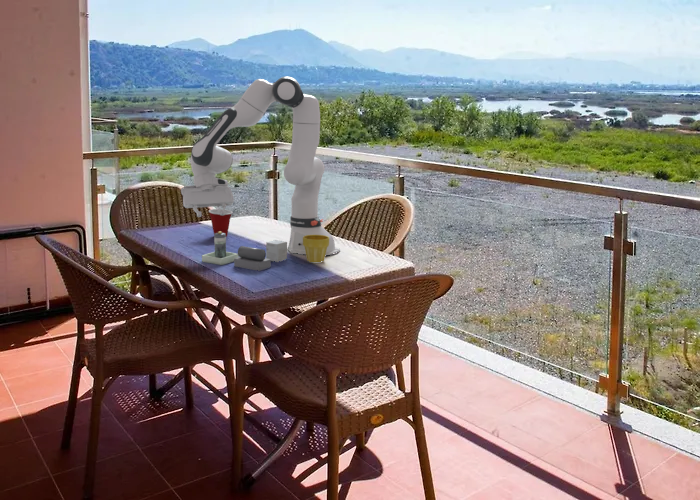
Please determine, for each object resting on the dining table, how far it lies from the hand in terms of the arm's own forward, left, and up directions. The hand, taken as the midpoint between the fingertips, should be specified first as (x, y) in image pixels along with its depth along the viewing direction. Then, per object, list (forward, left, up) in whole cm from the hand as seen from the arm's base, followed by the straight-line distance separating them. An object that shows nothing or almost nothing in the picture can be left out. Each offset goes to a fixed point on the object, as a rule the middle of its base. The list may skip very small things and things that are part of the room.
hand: (211, 215), depth 272 cm
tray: (-10, +7, -16) cm, 20 cm away
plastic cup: (+20, -28, -16) cm, 38 cm away
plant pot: (-41, -14, -16) cm, 47 cm away
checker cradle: (-26, +7, -16) cm, 32 cm away
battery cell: (-10, +7, -15) cm, 20 cm away
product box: (-27, -7, -16) cm, 33 cm away
